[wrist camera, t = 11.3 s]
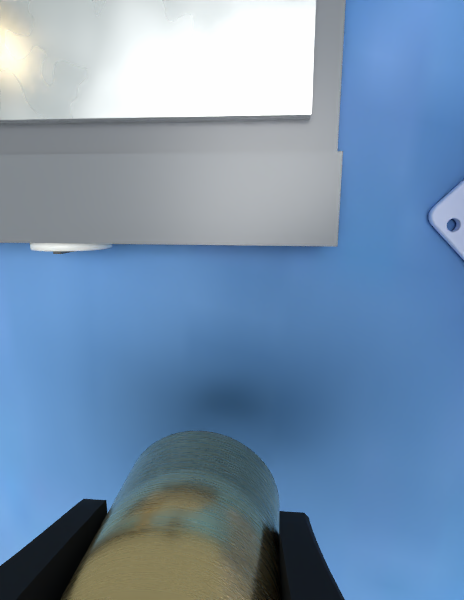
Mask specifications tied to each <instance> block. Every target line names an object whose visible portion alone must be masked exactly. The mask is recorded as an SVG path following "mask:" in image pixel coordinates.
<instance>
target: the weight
mask: <svg viewBox="0 0 464 600" xmlns="http://www.w3.org/2000/svg"><path fill="white" fill-rule="evenodd" d="M60 600H281V588H280V570H279V495H278V490H277V487H276V484H275V481H274V478H273V476H272V474H271V473H270V471H269V469H268V468H267V466H266V465H265V463H264V462H263V461H262V460H261V459H260V458H259V457H258V456H257V455H256V454H255V453H254V452H253V451H252V450H251V449H249V448H248V447H246V446H245V445H243V444H242V443H240V442H238V441H236V440H234V439H232V438H230V437H227V436H224V435H222V434H217V433H213V432H207V431H186V432H180V433H176V434H172V435H169V436H167V437H164V438H162V439H160V440H159V441H157V442H155V443H154V444H152V445H151V446H150V447H148V448H147V449H146V450H145V451H144V452H143V453H142V454H141V456H140V457H139V458H138V460H137V461H136V463H135V464H134V466H133V468H132V470H131V472H130V474H129V475H128V477H127V479H126V481H125V483H124V484H123V486H122V488H121V490H120V492H119V493H118V495H117V497H116V499H115V501H114V503H113V504H112V506H111V508H110V510H109V512H108V513H107V515H106V517H105V519H104V521H103V523H102V524H101V526H100V528H99V530H98V532H97V533H96V535H95V537H94V539H93V541H92V542H91V544H90V546H89V548H88V550H87V552H86V553H85V555H84V557H83V559H82V561H81V562H80V564H79V566H78V568H77V570H76V571H75V573H74V575H73V577H72V579H71V581H70V582H69V584H68V586H67V588H66V590H65V591H64V593H63V595H62V597H61V599H60Z"/></svg>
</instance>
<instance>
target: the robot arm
mask: <svg viewBox="0 0 464 600" xmlns="http://www.w3.org/2000/svg"><path fill="white" fill-rule="evenodd" d="M452 218H453V219H454V220H455V221H456V227H455V229H454V230H452V231H449V230H448V229H447V222H448V221H449V220H450V219H452ZM429 221H430V223H431V225H432V226H433V227H434V228H435V229H436V230H437V231H438V232H439V234H440V235H441V236H442V237H443V238H444V239H445V240H446V241H447V242H448V243H449V244H450V246H451V247H452V248H453V249H454V250H455V251H456V252H457V253H458V254H459V255H460V256H461V258H462V259H463V260H464V180H463V181H461V182H460V183H459V184H458V185H457V186H456V187H455V188H454V189H452V190H451V191H450V192H449V193H448V194H447V195H446V196H445V197H443V198H442V199H441V200H440V201H439V202H438V203H437V204H436V205H434V206H433V208H432V209H431V210H430V212H429ZM106 515H107V504H106V500H93V499H83V500H82V501H80V502H79V503H78V504H77V505H75V506H74V507H73V508H72V509H70V510H69V511H68V512H67V513H65V514H64V515H63V516H62V517H61V518H59V519H58V520H57V521H56V522H55V523H53V524H52V525H51V526H50V527H49V528H47V529H46V530H45V531H44V532H43V533H41V534H40V535H39V536H38V537H36V538H35V539H34V540H33V541H31V542H30V543H29V544H28V545H26V546H25V547H24V548H23V549H21V550H20V551H19V552H18V553H16V554H15V555H14V556H13V557H11V558H10V559H9V560H7V561H6V562H5V563H3V564H2V565H1V566H0V600H60V599H61V597H62V595H63V593H64V591H65V590H66V588H67V586H68V584H69V582H70V581H71V579H72V577H73V575H74V573H75V571H76V570H77V568H78V566H79V564H80V562H81V561H82V559H83V557H84V555H85V553H86V552H87V550H88V548H89V546H90V544H91V542H92V541H93V539H94V537H95V535H96V533H97V532H98V530H99V528H100V526H101V524H102V523H103V521H104V519H105V517H106ZM279 570H280V588H281V600H345V599H344V597H343V596H342V594H341V592H340V590H339V588H338V586H337V584H336V582H335V580H334V578H333V576H332V574H331V572H330V570H329V568H328V566H327V564H326V562H325V559H324V557H323V555H322V553H321V550H320V548H319V546H318V543H317V541H316V538H315V536H314V533H313V530H312V527H311V524H310V521H309V517H308V516H307V515H306V514H305V513H300V512H284V511H279Z"/></svg>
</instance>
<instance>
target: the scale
mask: <svg viewBox="0 0 464 600" xmlns="http://www.w3.org/2000/svg"><path fill="white" fill-rule="evenodd" d="M345 2H346V0H0V243H30V249H31V250H36V251H53V254H63V253H68V252H73V251H87V250H100V249H108V248H112V244H172V245H259V246H337V244H338V226H339V209H340V191H341V174H342V156H343V151H337V149H338V130H339V112H340V94H341V75H342V57H343V39H344V20H345Z"/></svg>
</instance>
